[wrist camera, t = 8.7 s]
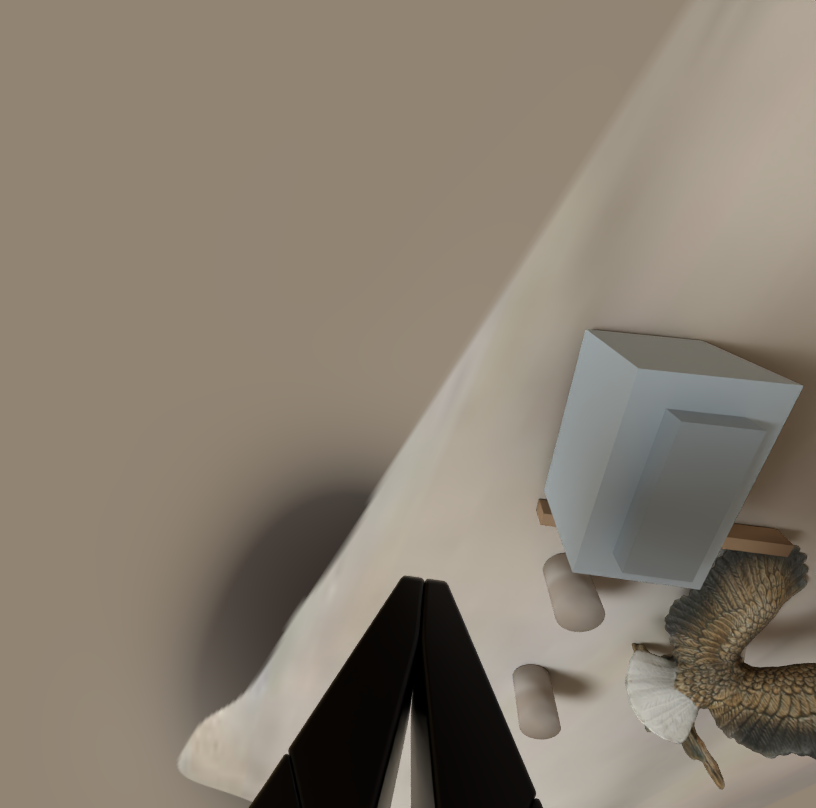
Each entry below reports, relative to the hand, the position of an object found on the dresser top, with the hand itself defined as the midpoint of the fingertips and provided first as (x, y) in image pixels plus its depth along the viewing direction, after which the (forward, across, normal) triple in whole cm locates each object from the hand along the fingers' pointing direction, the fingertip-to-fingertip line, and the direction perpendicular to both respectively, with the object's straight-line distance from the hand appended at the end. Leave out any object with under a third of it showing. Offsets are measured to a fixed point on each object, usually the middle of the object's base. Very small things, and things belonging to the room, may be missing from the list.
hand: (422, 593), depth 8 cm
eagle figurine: (+10, -14, +9) cm, 20 cm away
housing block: (+10, -7, 0) cm, 12 cm away
